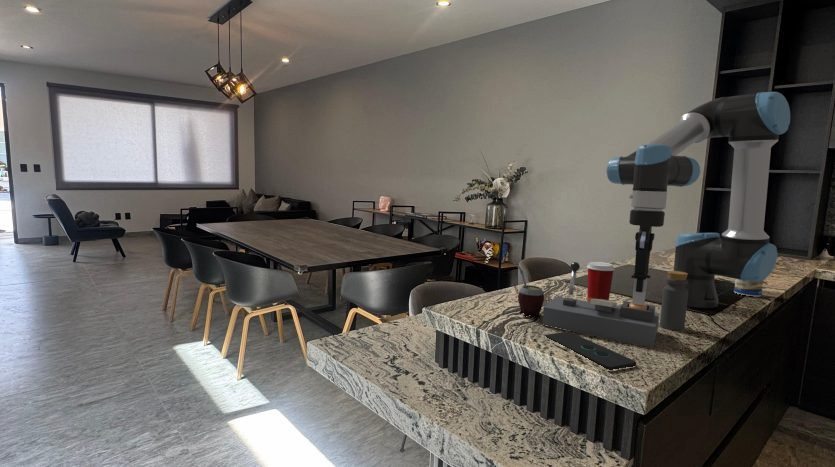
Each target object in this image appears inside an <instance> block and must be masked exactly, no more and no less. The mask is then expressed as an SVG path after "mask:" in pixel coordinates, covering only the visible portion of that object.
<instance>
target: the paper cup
mask: <svg viewBox="0 0 835 467" xmlns="http://www.w3.org/2000/svg"><path fill="white" fill-rule="evenodd" d="M586 268H587V289H586V290H587V295H586V298H587V299H586V301H588V302H590V300H591V299H604V300H610V295H611V288H612V282H613V277H614V276H613V275H614V271H615V268H614V264H612V263H608V262H602V261H592V262H591V261H590V262H588V264H587V265H586Z"/></svg>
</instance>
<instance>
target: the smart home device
mask: <svg viewBox="0 0 835 467" xmlns="http://www.w3.org/2000/svg"><path fill="white" fill-rule="evenodd" d="M545 336H546V337H547V338H549V339H551V340H553V341H555V342H558V343H559V344H561V345H563V346H565V347H567V348H569V349H571V350H573V351H574V352H576V353H578V354H580V355H582V356H584V357H585V358H588V359H589V360H591V361H593V362H595V363H597V364H598V365H601V366H603V367H604V368H606V369H609V370H613V369H619V368H626V367H633V366H637V361H636V360H634V359H631V358H630V357H628V356H625V355H624V354H621V353H619V352H616V351H614V350H612V349H609V348H607V347H605V346H603V345H601V344H598V343H597V342H594V341H591V340H589V339H587V338H585V337H582V336H581V335H578V334H576V333H575V332H571V331H563V332H556V333H548V334H544V337H545Z"/></svg>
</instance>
